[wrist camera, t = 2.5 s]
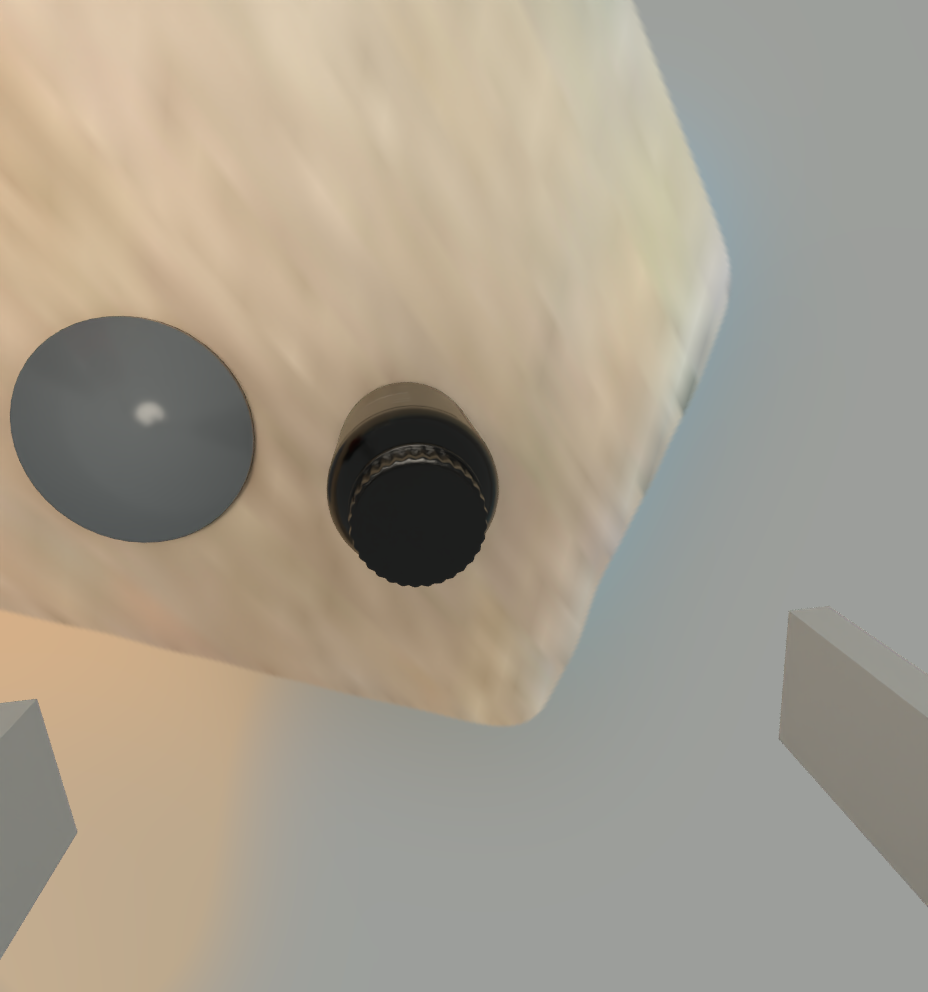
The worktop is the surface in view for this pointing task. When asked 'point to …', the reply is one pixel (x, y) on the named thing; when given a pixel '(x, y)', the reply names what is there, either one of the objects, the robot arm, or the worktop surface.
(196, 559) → the worktop surface
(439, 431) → the supplement bottle
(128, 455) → the coaster
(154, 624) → the worktop surface
